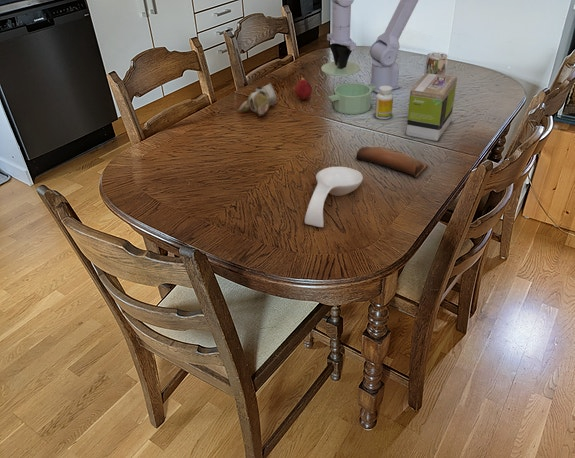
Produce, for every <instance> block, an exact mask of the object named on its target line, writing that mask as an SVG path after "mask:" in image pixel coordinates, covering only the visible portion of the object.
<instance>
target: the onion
mask: <svg viewBox="0 0 575 458" xmlns="http://www.w3.org/2000/svg"><path fill="white" fill-rule="evenodd" d="M294 92H295V94H296V97H298V98H299V99H300V100H301V101H306V100H307V99H309V97H311V95H312V92H313V88H312V85H311V83H309V81H308V80H306V79H305V78H303V77H301V78H300V80H299V81H298V82H297V84H296V85H295V89H294Z"/></svg>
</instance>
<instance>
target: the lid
mask: <svg viewBox="0 0 575 458" xmlns="http://www.w3.org/2000/svg"><path fill="white" fill-rule="evenodd" d="M320 70H321V72H322V73H323V74H326V75H329V76H334V77H345V76H352V75H356V74H357V73H359V72H360V71H361V66H360V65H359V64H358V63H356V62H352V61H348V62H347V65H346V67H344V68H340V64H339V57H337V66H336V65H335V61H330V62H327V63H324V64H322V65H321V69H320Z"/></svg>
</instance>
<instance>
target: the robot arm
mask: <svg viewBox="0 0 575 458" xmlns="http://www.w3.org/2000/svg"><path fill="white" fill-rule="evenodd" d="M331 1H332V2H333V5H332V6H333V7H332V11H333V12H332V33H327V34H326V40H327V41H329V45H328V47H329V49H330V51H331V54H332V57H333V62H335V65H336V66H337V57H339V64H340V68H344V67H346V65H347V62H349V58H350V56H351V54H352V52H353V51H355V50H357V43H356V42H354V41H353V40H352V38H351V22H352V21H351V19H352V16H351V15H352V4H354V2H355V0H331ZM418 3H419V0H399V3H398V4H397V6H396V8H395V10H394V12H393V14H392V16H391V18H390V20H389V22H388V24H387V26H386V28H385V30H384V32H383V33H382V34H380V35H379V36H378V37H377V38H376V40H375V41H373V43H372V44H371V45H370V48H369V56H370V58H372V61H371V73H370V74H371V75H370V83H368V84H366V85H367V86H370V85H373V86H375V87H376V90H374V91H373V92H375V93H377V94H378V93H379V87H381V86H390V87H392V91H393V90H396V89H399V88H400V86H399V77H400V67H399V64H398V62H397V58H398V52H399V50H400V47H401V46H400V42H399V40H400V38H401V36H402V33H403V32H404V30H405V28H406V25H408V22H409V20H410V18H411V16H412V14H413V12H414V10H415V9H416V7H417V4H418Z"/></svg>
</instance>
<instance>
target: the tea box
mask: <svg viewBox="0 0 575 458" xmlns="http://www.w3.org/2000/svg"><path fill="white" fill-rule="evenodd" d="M457 82H458V76H453V75H446V74H445V75H437V74H429V73H426V74H425V75H424V74H423V76H422V77H421V78H420V79H419V80H418V81H417V82H416V83H415V84H414V85H413V87H412V88H410V91H409V99H408V108H407V109H408V111H407V120H406V131H405V132H406V133H405V135H406V136H408V137H412V138H413V137H414V138H419V139H424V140H429V141H436V142H437V141H438V140H439V139H440V138H441V136H442V135H443V133H444V132H445V131H446V129H447V128H448V126H449V125H450V123H451V122H452V118H453V110H454V103H455V96H456V88H457Z"/></svg>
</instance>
